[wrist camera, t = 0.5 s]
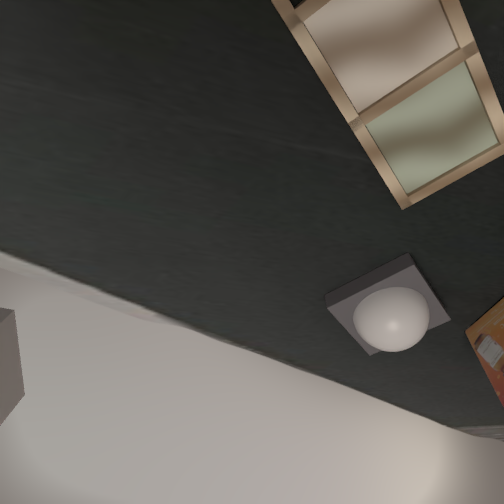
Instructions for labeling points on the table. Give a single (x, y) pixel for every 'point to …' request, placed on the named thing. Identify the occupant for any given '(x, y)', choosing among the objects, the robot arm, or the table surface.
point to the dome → (388, 306)
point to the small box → (490, 345)
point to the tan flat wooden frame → (404, 86)
